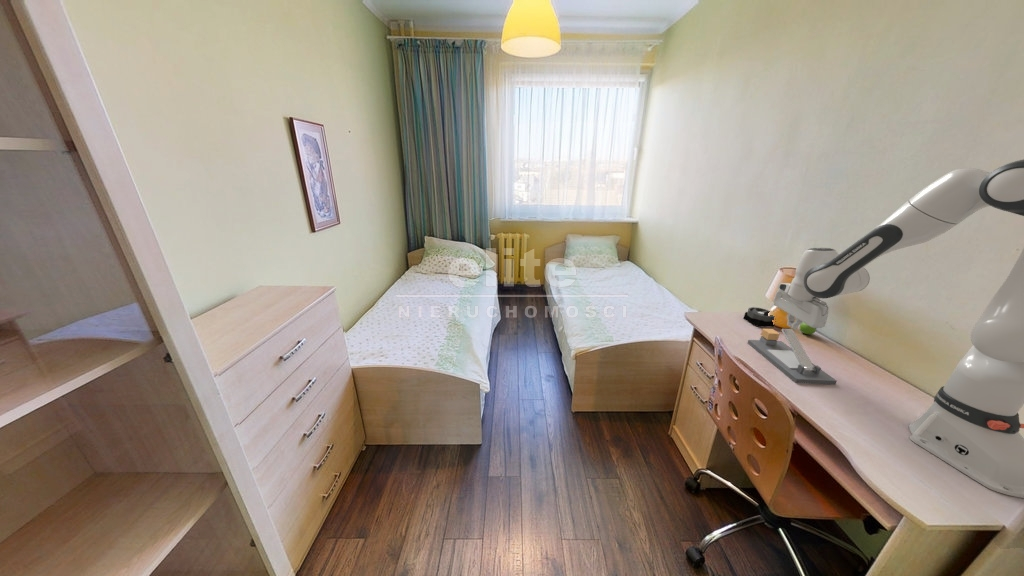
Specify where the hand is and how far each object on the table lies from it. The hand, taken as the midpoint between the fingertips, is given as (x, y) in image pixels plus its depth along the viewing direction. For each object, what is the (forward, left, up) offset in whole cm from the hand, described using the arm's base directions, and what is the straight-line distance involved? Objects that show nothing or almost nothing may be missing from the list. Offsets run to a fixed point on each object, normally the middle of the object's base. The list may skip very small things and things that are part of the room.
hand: (791, 327), depth 120 cm
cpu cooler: (+30, -11, -13) cm, 35 cm away
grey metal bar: (-5, 0, -7) cm, 8 cm away
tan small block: (+8, 0, -9) cm, 12 cm away
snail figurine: (+20, -25, -13) cm, 34 cm away
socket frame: (-3, 0, -13) cm, 13 cm away
